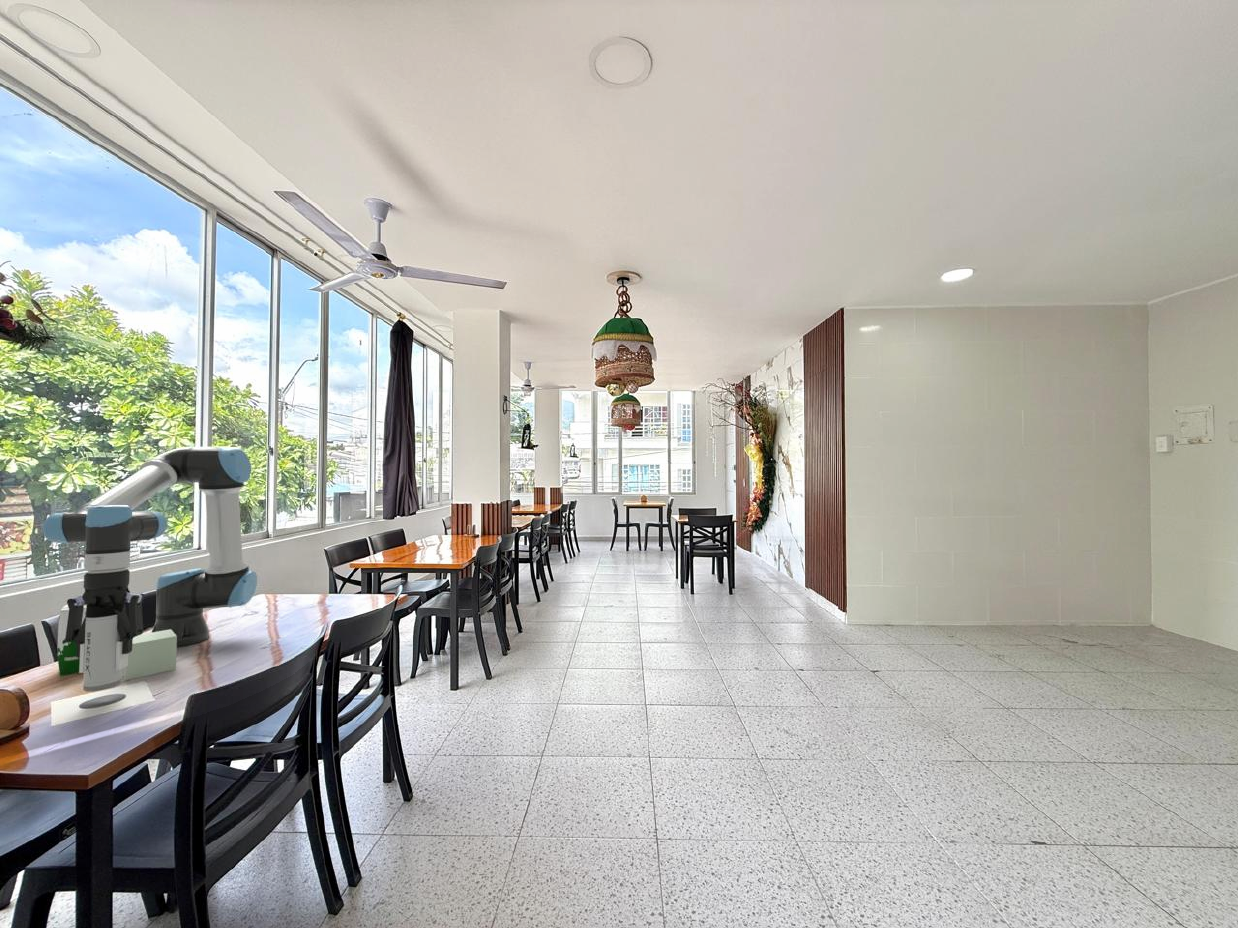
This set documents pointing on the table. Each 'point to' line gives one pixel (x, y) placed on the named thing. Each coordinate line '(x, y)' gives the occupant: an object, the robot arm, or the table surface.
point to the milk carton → (67, 645)
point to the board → (99, 702)
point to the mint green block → (151, 654)
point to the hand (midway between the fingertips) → (103, 669)
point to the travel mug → (101, 648)
